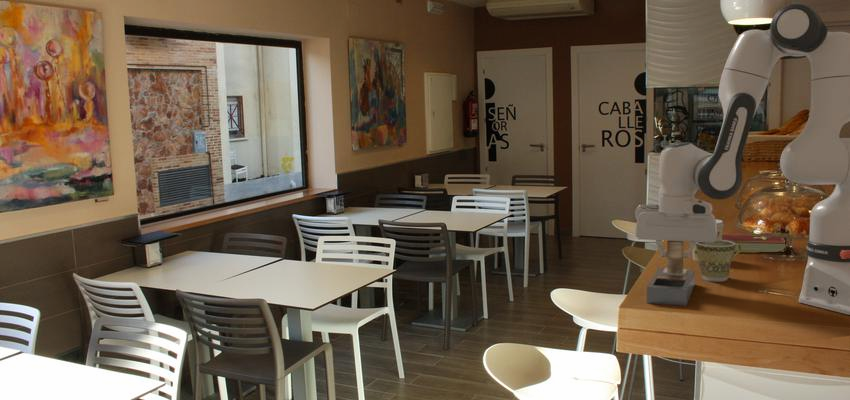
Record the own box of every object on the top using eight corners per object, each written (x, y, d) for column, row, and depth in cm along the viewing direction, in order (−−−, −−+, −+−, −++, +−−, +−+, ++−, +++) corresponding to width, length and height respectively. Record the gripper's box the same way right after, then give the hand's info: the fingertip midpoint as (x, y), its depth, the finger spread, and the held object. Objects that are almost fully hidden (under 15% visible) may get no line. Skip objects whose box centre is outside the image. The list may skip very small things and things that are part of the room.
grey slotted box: (686, 305, 184) (686, 288, 183) (646, 302, 188) (646, 285, 187) (694, 284, 204) (694, 268, 203) (658, 282, 207) (658, 266, 207)
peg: (686, 271, 200) (686, 241, 199) (672, 273, 199) (673, 242, 198) (677, 268, 204) (677, 239, 203) (664, 270, 203) (664, 240, 202)
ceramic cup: (710, 284, 203) (711, 247, 202) (687, 276, 213) (688, 241, 211) (752, 280, 207) (753, 243, 205) (728, 272, 216) (728, 237, 215)
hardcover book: (711, 245, 256) (712, 233, 255) (780, 247, 250) (780, 234, 249) (714, 253, 244) (714, 240, 244) (786, 255, 238) (787, 241, 238)
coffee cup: (687, 261, 231) (688, 222, 229) (692, 255, 239) (693, 217, 237) (720, 264, 226) (721, 224, 225) (724, 258, 235) (725, 219, 233)
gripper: (633, 205, 200) (632, 257, 202) (716, 208, 192) (715, 262, 194) (637, 202, 206) (636, 252, 208) (718, 204, 198) (717, 257, 200)
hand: (675, 257), depth 201 cm, fingers open, 5 cm apart
